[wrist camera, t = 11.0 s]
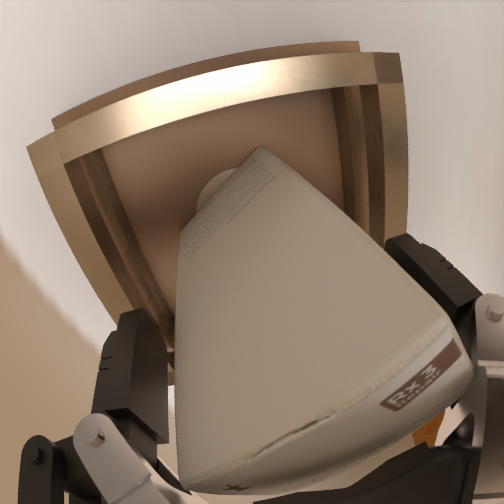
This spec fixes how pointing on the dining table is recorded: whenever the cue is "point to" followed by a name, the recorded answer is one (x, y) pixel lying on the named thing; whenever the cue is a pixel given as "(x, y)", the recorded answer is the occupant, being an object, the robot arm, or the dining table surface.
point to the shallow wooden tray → (206, 99)
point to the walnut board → (214, 151)
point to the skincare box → (297, 340)
